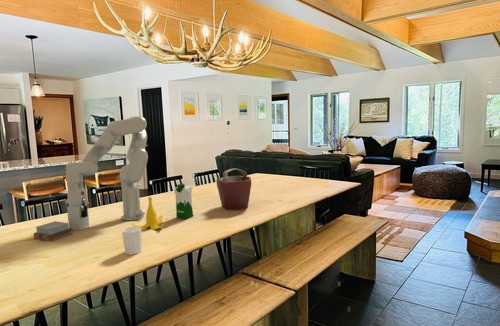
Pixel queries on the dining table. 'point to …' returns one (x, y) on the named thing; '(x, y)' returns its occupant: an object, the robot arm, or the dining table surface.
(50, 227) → the tower top
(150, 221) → the banana peel
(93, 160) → the robot arm
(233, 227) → the dining table surface
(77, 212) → the supplement box
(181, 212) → the milk carton
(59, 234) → the tower base
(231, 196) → the bucket
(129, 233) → the white cup
